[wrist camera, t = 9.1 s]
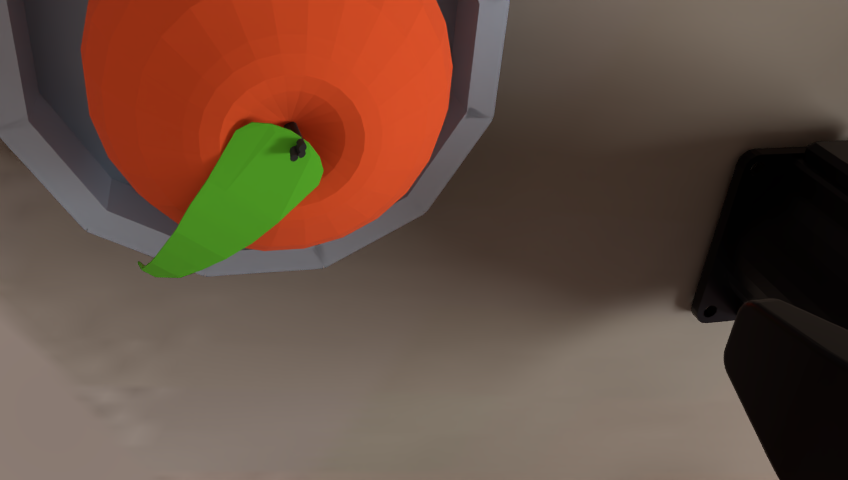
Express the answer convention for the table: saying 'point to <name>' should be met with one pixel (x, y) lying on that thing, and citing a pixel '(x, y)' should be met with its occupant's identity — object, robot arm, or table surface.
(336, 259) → the saucer
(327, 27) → the clementine
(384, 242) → the table surface
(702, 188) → the table surface
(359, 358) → the table surface
